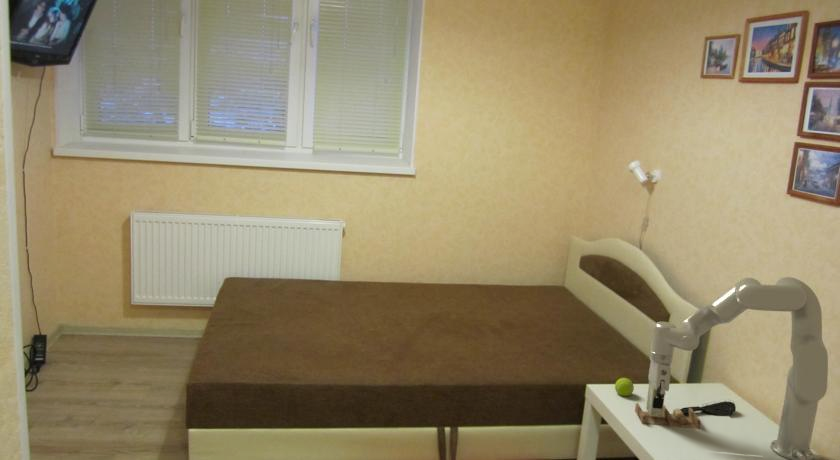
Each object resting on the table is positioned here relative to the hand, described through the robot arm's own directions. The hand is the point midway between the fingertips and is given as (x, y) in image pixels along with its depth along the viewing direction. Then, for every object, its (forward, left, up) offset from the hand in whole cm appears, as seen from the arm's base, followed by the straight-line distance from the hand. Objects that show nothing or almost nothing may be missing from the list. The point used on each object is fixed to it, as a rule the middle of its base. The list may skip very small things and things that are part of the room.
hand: (654, 403), depth 236 cm
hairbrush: (+9, -22, -6) cm, 25 cm away
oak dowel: (0, -10, -6) cm, 12 cm away
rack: (0, -5, -6) cm, 8 cm away
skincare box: (0, 0, -4) cm, 4 cm away
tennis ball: (+19, +6, -7) cm, 21 cm away
